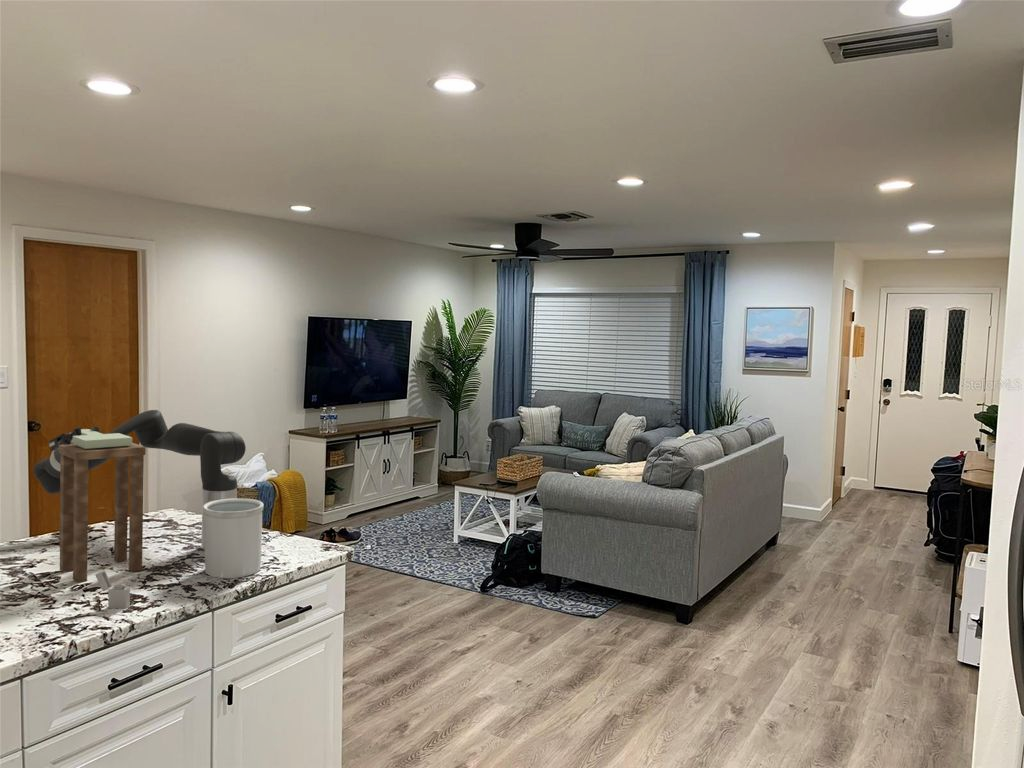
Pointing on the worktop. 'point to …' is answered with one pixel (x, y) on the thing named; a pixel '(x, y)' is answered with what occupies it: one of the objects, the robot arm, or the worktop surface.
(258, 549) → the utensil holder
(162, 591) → the worktop surface
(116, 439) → the green block
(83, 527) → the stool
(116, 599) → the lighter
